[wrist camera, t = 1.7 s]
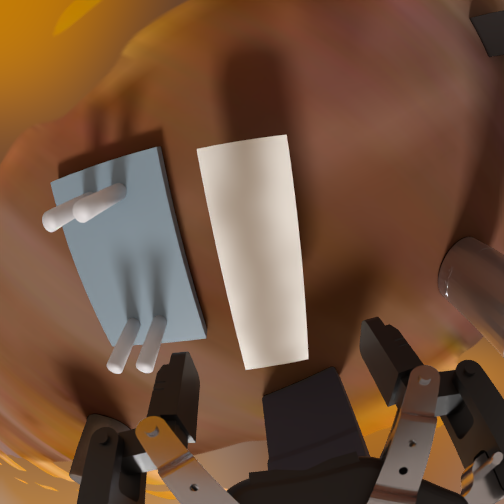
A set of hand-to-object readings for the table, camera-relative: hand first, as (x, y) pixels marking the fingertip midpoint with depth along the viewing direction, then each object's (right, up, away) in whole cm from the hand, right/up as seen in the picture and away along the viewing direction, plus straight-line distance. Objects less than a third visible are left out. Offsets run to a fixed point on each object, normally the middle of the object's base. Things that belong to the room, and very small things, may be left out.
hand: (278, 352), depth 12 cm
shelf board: (-1, +4, +10) cm, 11 cm away
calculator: (+6, -14, +24) cm, 28 cm away
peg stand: (-14, +4, +15) cm, 21 cm away
